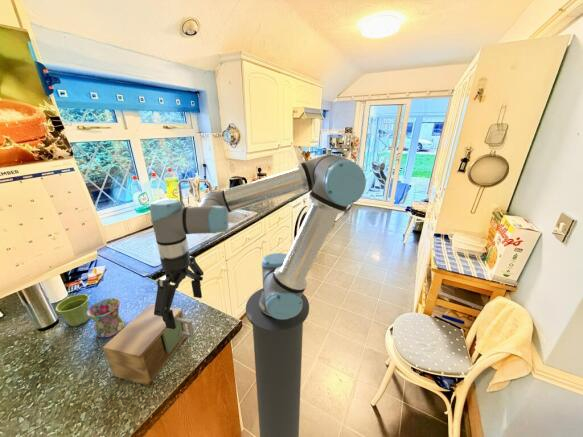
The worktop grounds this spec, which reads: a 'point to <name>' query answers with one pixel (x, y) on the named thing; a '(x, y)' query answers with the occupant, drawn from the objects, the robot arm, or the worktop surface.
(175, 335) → the sliding door
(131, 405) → the worktop surface
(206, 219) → the robot arm
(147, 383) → the cupboard
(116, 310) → the mug
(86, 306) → the plant pot
